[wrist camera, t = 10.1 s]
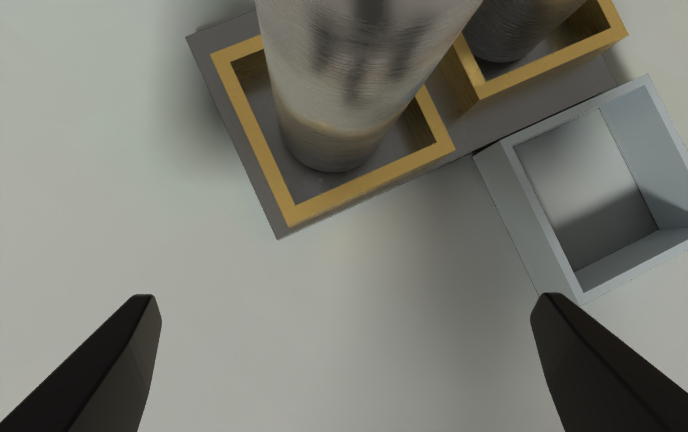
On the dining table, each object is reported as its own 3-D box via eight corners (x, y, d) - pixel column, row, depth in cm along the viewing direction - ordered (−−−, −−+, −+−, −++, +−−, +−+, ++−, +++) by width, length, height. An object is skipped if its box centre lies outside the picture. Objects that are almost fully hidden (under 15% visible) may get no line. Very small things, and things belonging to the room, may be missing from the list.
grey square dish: (540, 299, 21) (579, 306, 18) (472, 156, 21) (499, 140, 18) (669, 233, 22) (727, 229, 19) (601, 97, 22) (648, 73, 19)
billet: (333, 194, 19) (391, 83, 6) (256, 118, 19) (160, -146, 6) (405, 121, 20) (592, -116, 7) (331, 47, 20) (382, -326, 7)
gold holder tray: (278, 240, 20) (273, 237, 17) (190, 47, 20) (171, 12, 17) (603, 92, 22) (649, 67, 19) (517, -79, 23) (549, -130, 20)
